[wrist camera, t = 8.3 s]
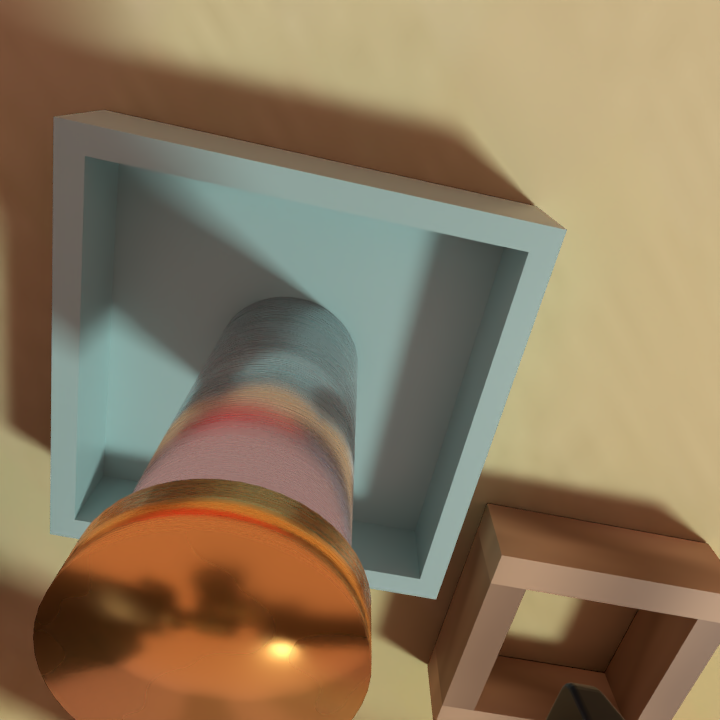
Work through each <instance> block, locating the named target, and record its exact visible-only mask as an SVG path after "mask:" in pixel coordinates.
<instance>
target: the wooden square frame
mask: <svg viewBox="0 0 720 720" xmlns="http://www.w3.org/2000/svg"><path fill="white" fill-rule="evenodd" d="M526 590H532V591H538V592H544V593H549V594H555V595H561V596H567V597H573V598H578V599H584V600H590V601H596V602H602V603H607V604H613V605H619V606H625V607H630V608H636V609H639V610H638V612H637V614H636V616H635V617H634V619H633V621H632V623H631V625H630V627H629V629H628V630H627V632H626V634H625V636H624V638H623V640H622V642H621V643H620V645H619V647H618V649H617V651H616V653H615V655H614V656H613V658H612V660H611V662H610V664H609V666H608V667H607V669H606V671H605V673H601V672H595V671H589V670H582V669H576V668H570V667H564V666H558V665H552V664H546V663H540V662H534V661H527V660H521V659H515V658H509V657H503V656H498V654H499V651H500V649H501V647H502V644H503V642H504V640H505V637H506V635H507V633H508V630H509V628H510V626H511V623H512V621H513V619H514V616H515V614H516V612H517V609H518V607H519V605H520V603H521V600H522V598H523V596H524V593H525V591H526ZM719 644H720V559H719V558H718V557H717V555H716V554H715V553H714V551H713V550H712V548H711V547H710V546H709V544H707V543H701V542H696V541H690V540H685V539H680V538H674V537H669V536H663V535H658V534H652V533H647V532H641V531H636V530H630V529H625V528H620V527H614V526H609V525H603V524H598V523H592V522H587V521H581V520H576V519H570V518H565V517H559V516H554V515H549V514H543V513H538V512H532V511H527V510H521V509H516V508H510V507H505V506H499V505H494V504H489V503H487V506H486V508H485V511H484V514H483V516H482V519H481V522H480V525H479V527H478V530H477V533H476V535H475V538H474V541H473V544H472V546H471V549H470V552H469V554H468V557H467V560H466V563H465V565H464V568H463V571H462V574H461V576H460V579H459V582H458V584H457V587H456V590H455V593H454V595H453V598H452V601H451V603H450V606H449V609H448V612H447V614H446V617H445V620H444V622H443V625H442V628H441V631H440V633H439V636H438V639H437V642H436V644H435V647H434V650H433V652H432V655H431V658H430V661H429V663H428V675H429V685H430V695H431V705H432V714H433V720H546V718H547V716H548V714H549V712H550V710H551V708H552V706H553V704H554V702H555V700H556V698H557V696H558V694H559V692H560V690H561V688H562V687H563V686H564V685H565V684H567V683H570V682H572V683H578V684H584V685H590V686H594V687H596V688H597V689H599V690H600V691H601V692H602V693H603V694H604V695H605V696H606V698H607V699H608V700H609V701H610V702H611V704H612V705H613V706H614V707H615V708H616V710H617V711H618V712H619V713H620V714H621V716H622V717H623V718H624V719H625V720H672V718H673V717H674V715H675V714H676V712H677V710H678V709H679V707H680V706H681V704H682V703H683V701H684V699H685V698H686V696H687V695H688V693H689V691H690V690H691V688H692V687H693V685H694V684H695V682H696V680H697V679H698V677H699V676H700V674H701V672H702V671H703V669H704V668H705V666H706V665H707V663H708V661H709V660H710V658H711V657H712V655H713V653H714V652H715V650H716V649H717V647H718V646H719Z"/></svg>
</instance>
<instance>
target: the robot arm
mask: <svg viewBox="0 0 720 720" xmlns="http://www.w3.org/2000/svg"><path fill="white" fill-rule="evenodd" d="M546 720H625V719H624V718H623V717H622V716H621V714H620V713H619V712H618V711H617V710H616V708H615V707H614V706H613V705H612V704H611V702H610V701H609V700H608V699H607V698H606V696H605V695H604V694H603V693H602V692H601V691H600V690H599V689H597V688H596V687H594V686H590V685H584V684H578V683H572V682H570V683H567V684H565V685H564V686H563V687H562V688H561V690H560V692H559V694H558V696H557V698H556V700H555V702H554V704H553V706H552V708H551V710H550V712H549V714H548V716H547V718H546Z"/></svg>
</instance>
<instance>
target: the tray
mask: <svg viewBox="0 0 720 720" xmlns="http://www.w3.org/2000/svg"><path fill="white" fill-rule="evenodd" d="M566 231H567V230H566V229H565V228H564V227H562V226H561V225H560V224H559V223H557V222H556V221H555V220H553V219H552V218H551V217H550V216H548V215H547V214H546V213H544V212H543V211H542V210H541V209H539V208H538V207H537V206H533V205H529V204H524V203H520V202H515V201H511V200H506V199H502V198H497V197H493V196H488V195H484V194H480V193H475V192H471V191H466V190H462V189H457V188H453V187H448V186H444V185H439V184H435V183H430V182H426V181H421V180H417V179H412V178H408V177H403V176H399V175H394V174H390V173H385V172H381V171H376V170H372V169H368V168H363V167H359V166H354V165H350V164H345V163H341V162H336V161H332V160H327V159H323V158H318V157H314V156H309V155H305V154H300V153H296V152H291V151H287V150H282V149H278V148H273V147H269V146H264V145H260V144H255V143H251V142H247V141H242V140H238V139H233V138H229V137H224V136H220V135H215V134H211V133H206V132H202V131H197V130H193V129H188V128H184V127H179V126H175V125H170V124H166V123H161V122H157V121H152V120H148V119H143V118H139V117H134V116H130V115H126V114H121V113H117V112H112V111H108V110H98V111H91V112H84V113H76V114H69V115H61V116H54V126H53V248H52V370H51V493H50V534H53V535H59V536H64V537H70V538H76V539H80V537H81V536H82V534H83V533H84V532H85V530H86V529H87V528H88V526H89V525H90V524H91V522H92V521H93V520H94V519H95V518H97V517H98V516H99V515H100V514H101V513H102V512H103V511H104V510H105V509H107V508H108V507H110V506H111V505H113V504H114V503H115V502H117V501H118V500H120V499H122V498H124V497H126V496H128V495H130V494H132V492H133V491H134V489H135V487H136V485H137V484H138V482H139V480H140V478H141V476H142V475H143V473H144V471H145V469H146V468H147V466H148V464H149V462H150V461H151V459H152V457H153V455H154V453H155V452H156V450H157V448H158V446H159V445H160V443H161V441H162V439H163V437H164V436H165V434H166V432H167V430H168V429H169V427H170V425H171V423H172V421H173V420H174V418H175V416H176V414H177V413H178V411H179V409H180V407H181V406H182V404H183V402H184V400H185V398H186V397H187V395H188V393H189V391H190V390H191V388H192V386H193V384H194V382H195V381H196V379H197V377H198V375H199V374H200V372H201V370H202V368H203V366H204V365H205V363H206V361H207V359H208V358H209V356H210V354H211V352H212V350H213V349H214V347H215V345H216V343H217V342H218V340H219V338H220V336H221V335H222V333H223V331H224V329H225V327H226V326H227V324H228V323H229V322H230V320H231V319H232V318H233V317H234V316H235V315H236V314H237V313H238V312H240V311H241V310H242V309H244V308H245V307H247V306H249V305H250V304H252V303H255V302H257V301H260V300H263V299H267V298H272V297H295V298H301V299H305V300H308V301H311V302H314V303H316V304H318V305H320V306H322V307H324V308H325V309H327V310H328V311H330V312H331V313H332V314H334V315H335V316H336V317H337V318H338V319H339V320H340V321H341V322H342V323H343V325H344V326H345V327H346V329H347V330H348V332H349V334H350V335H351V337H352V340H353V342H354V344H355V348H356V352H357V359H358V372H357V401H356V430H355V460H354V489H353V519H352V549H353V550H354V551H355V553H356V554H357V556H358V558H359V560H360V562H361V564H362V566H363V568H364V571H365V574H366V577H367V580H368V583H369V588H371V589H377V590H383V591H389V592H395V593H401V594H406V595H412V596H418V597H424V598H430V599H436V598H437V596H438V593H439V590H440V587H441V584H442V581H443V579H444V576H445V573H446V570H447V567H448V564H449V562H450V559H451V556H452V553H453V550H454V547H455V545H456V542H457V539H458V536H459V533H460V531H461V528H462V525H463V522H464V519H465V516H466V514H467V511H468V508H469V505H470V502H471V499H472V497H473V494H474V491H475V488H476V485H477V482H478V480H479V477H480V474H481V471H482V468H483V465H484V463H485V460H486V457H487V454H488V451H489V448H490V446H491V443H492V440H493V437H494V434H495V432H496V429H497V426H498V423H499V420H500V417H501V415H502V412H503V409H504V406H505V403H506V400H507V398H508V395H509V392H510V389H511V386H512V383H513V381H514V378H515V375H516V372H517V369H518V366H519V364H520V361H521V358H522V355H523V352H524V349H525V347H526V344H527V341H528V338H529V335H530V333H531V330H532V327H533V324H534V321H535V318H536V316H537V313H538V310H539V307H540V304H541V301H542V299H543V296H544V293H545V290H546V287H547V284H548V282H549V279H550V276H551V273H552V270H553V267H554V265H555V262H556V259H557V256H558V253H559V251H560V248H561V245H562V242H563V239H564V236H565V234H566Z"/></svg>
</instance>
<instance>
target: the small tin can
mask: <svg viewBox="0 0 720 720" xmlns="http://www.w3.org/2000/svg"><path fill="white" fill-rule="evenodd" d="M357 372H358V359H357V352H356V348H355V344H354V342H353V340H352V337H351V335H350V334H349V332H348V330H347V329H346V327H345V326H344V325H343V323H342V322H341V321H340V320H339V319H338V318H337V317H336V316H335V315H334V314H332V313H331V312H330V311H328V310H327V309H325V308H324V307H322V306H320V305H318V304H316V303H314V302H311V301H308V300H305V299H301V298H295V297H272V298H267V299H263V300H260V301H257V302H255V303H252V304H250V305H249V306H247V307H245V308H244V309H242V310H241V311H240V312H238V313H237V314H236V315H235V316H234V317H233V318H232V319H231V320H230V322H229V323H228V324H227V326H226V327H225V329H224V331H223V333H222V335H221V336H220V338H219V340H218V342H217V343H216V345H215V347H214V349H213V350H212V352H211V354H210V356H209V358H208V359H207V361H206V363H205V365H204V366H203V368H202V370H201V372H200V374H199V375H198V377H197V379H196V381H195V382H194V384H193V386H192V388H191V390H190V391H189V393H188V395H187V397H186V398H185V400H184V402H183V404H182V406H181V407H180V409H179V411H178V413H177V414H176V416H175V418H174V420H173V421H172V423H171V425H170V427H169V429H168V430H167V432H166V434H165V436H164V437H163V439H162V441H161V443H160V445H159V446H158V448H157V450H156V452H155V453H154V455H153V457H152V459H151V461H150V462H149V464H148V466H147V468H146V469H145V471H144V473H143V475H142V476H141V478H140V480H139V482H138V484H137V485H136V487H135V489H134V491H133V492H132V494H130V495H128V496H126V497H124V498H122V499H120V500H118V501H117V502H115V503H114V504H113V505H111V506H110V507H108V508H107V509H105V510H104V511H103V512H102V513H101V514H100V515H99V516H98V517H97V518H95V519H94V520H93V521H92V522H91V524H90V525H89V526H88V528H87V529H86V530H85V532H84V533H83V534H82V536H81V537H80V539H79V541H78V542H77V544H76V545H75V547H74V549H73V550H72V552H71V553H70V555H69V557H68V558H67V560H66V561H65V563H64V565H63V566H62V568H61V569H60V571H59V573H58V574H57V576H56V578H55V579H54V581H53V582H52V584H51V586H50V587H49V589H48V590H47V592H46V594H45V596H44V598H43V600H42V602H41V604H40V606H39V608H38V612H37V615H36V619H35V623H34V634H33V641H34V651H35V656H36V660H37V664H38V667H39V670H40V672H41V674H42V677H43V679H44V681H45V683H46V685H47V686H48V688H49V689H50V691H51V692H52V694H53V695H54V697H55V698H56V700H57V701H58V702H59V703H60V704H61V705H62V707H63V708H64V709H65V710H66V711H67V712H68V713H69V714H70V715H71V716H72V717H73V718H74V719H75V720H352V719H353V718H354V716H355V715H356V713H357V711H358V710H359V708H360V707H361V705H362V703H363V701H364V698H365V696H366V693H367V691H368V687H369V682H370V678H371V595H370V589H369V583H368V580H367V577H366V574H365V571H364V568H363V566H362V564H361V562H360V560H359V558H358V556H357V554H356V553H355V551H354V550H353V549H352V519H353V489H354V460H355V430H356V401H357Z"/></svg>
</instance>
